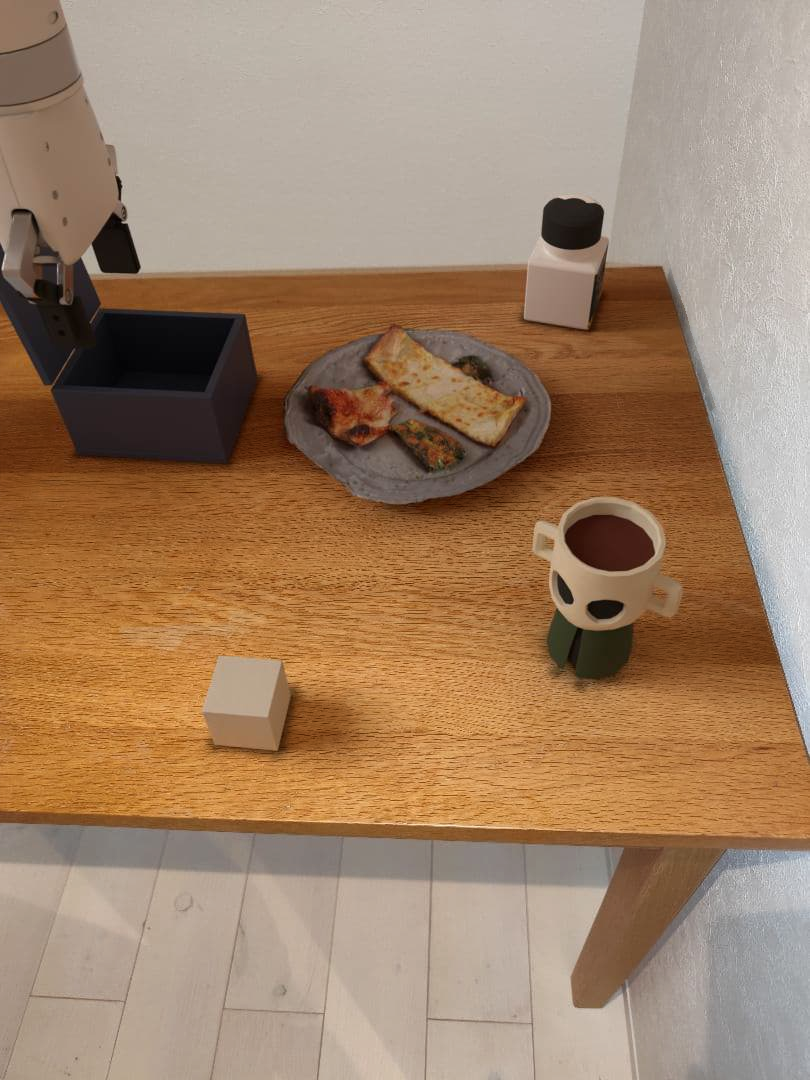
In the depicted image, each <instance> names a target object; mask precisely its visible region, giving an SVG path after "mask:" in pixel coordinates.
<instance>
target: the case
mask: <svg viewBox="0 0 810 1080" xmlns="http://www.w3.org/2000/svg"><path fill="white" fill-rule="evenodd" d="M90 324H91V327H92V330H93V332H94V335H95V338H96V340H97V343H96V345H95V347H94V348H93V349H74V350H73V351H72V353H71V355H70V356H69V358H68V360H67V361H66V363H65V365H64V366H63V368H62V370H61V371H60V373H59V375H58V376H57V378H56V380H55V381H54V383H53V385H52V386H51V388H50V393H51V395H52V397H53V400H54V402H55V404H56V407H57V410H58V411H59V414H60V416H61V418H62V421H63V423H64V426H65V428H66V431H67V433H68V435H69V438H70V440H71V442H72V445H73V448H74V450H75V453H76V455H78V456H90V457H91V456H92V457H109V458H126V459H127V458H128V459H142V460H160V461H163V460H164V461H175V462H176V461H177V462H178V461H179V462H191V463H192V462H193V463H195V462H196V463H212V464H213V463H214V464H228V462H229V460H230V456H231V455H232V451H233V448H234V445H235V443H236V441H237V438H238V434H239V432H240V430H241V426H242V424H243V421H244V419H245V416H246V414H247V413H246V412H247V410H248V407H249V405H250V402H251V399H252V397H253V393H254V391H255V388H256V386H257V383H258V379H259V378H258V374H257V373H258V371H257V366H256V362H255V356H254V351H253V347H252V342H251V335H250V332H249V331H250V330H249V326H248V321H247V316H246V313H231V312H230V313H228V312H205V311H183V310H182V311H179V310H156V309H129V308H108V307H105V308H104V307H99V308H98V310H97V312H96V313H95V315H94V317H93V318H92V320H91V321H90Z"/></svg>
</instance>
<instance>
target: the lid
mask: <svg viewBox="0 0 810 1080" xmlns="http://www.w3.org/2000/svg"><path fill="white" fill-rule="evenodd" d="M40 254H47V255H59V252H58V251H53V250H52V248H51V247H42V246H40ZM4 256H5V252H4V250H3V248H2V245H1V243H0V305H1V306H2V308H3V310H4V312H5V314H6V316H7V317H8V319H9V321H10V323H11V325H12V327H13V329H14V331H15V333H16V334H17V336H18V338H19V340H20V342H21V344H22V347H23V349H24V350H25V352H26V354H27V356H28V358H29V359H30V362H31V363H32V365H33V367H34V369H35V371H36V373H37V375H38V376H39V378H40V380H41V382H42V384H43V386H53V385H54V383H55V381H56V380H57V378H58V376H59V375H60V373H61V371H62V370H63V368H64V366H65V365H66V363H67V361H68V360H69V358H70V356H71V355H72V353H73V351H74V350H75V349H74V348H57V347H55V346H53V345H52V343H51V341H50V338H49V336H48V333H47V331H46V329H45V326H44V324H43V321H42V319H41V317H40V314H39V312H38V309H37V307H36V305H35V304H30V303H29V302H28V300H26V299H23V298H21V297H20V296H19V295H18V293H17V290H16V289H15V288H14V287H13V286H12V285H11V284H10V283H9V282H7V281H6V280H5V278H4V277H3V275H2V265H3V260H4ZM42 271H43V279H44V280H47V281H49V282H51V283H54V284H56V285H57V266H42ZM73 296H77V297H81V300H82V302H83V305H84V308H85V311H86V313H87V316H88V319H89V321H90V322H91V321H92V320H93V318H94V316H95V315H96V313H97V311H98V309H99V308H101V305H102V302H101V300H100V298H99V295H98V292H97V291H96V288H95V286H94V283H93V281H92V279H91V277H90V274H89V271H88V269H87V267H86V264H85V262H84V260H83V258H82V257H81V258H80V259H79V260H78V261H76V262H75V263H74V264H73Z"/></svg>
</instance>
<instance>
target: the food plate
mask: <svg viewBox="0 0 810 1080" xmlns="http://www.w3.org/2000/svg"><path fill="white" fill-rule="evenodd" d="M282 406H283V407H282V412H283V416H282V417H283V418H282V420H283V422H284V425H283V432H284V434H285V436H286V438H287V440H288V442H289V443H290V445H292V446H295V447H296V448H297V449H298V450H299V451H300V452H302V453H303V454H304V456H306V457H308V459H309V460H310V461H311V462H313V463H314V464H315V465H316V466H318V468H319V469H322V470H323V471H325V472H326V473H327V474H328V475H329V476H331V478H332V479H333V480H336V481H338V482H339V483H343V486H344V487H346V489H347V490H348V491H349V493H350V494H351V495H352V496H354V497H357V498H359V499H364V500H370V501H373V502H377V503H383V504H387V505H388V504H389V505H408V504H410V503H412V504H413V503H414V504H415V503H422V502H424V501H426V500H428V499H437V498H439V499H440V498H445V497H452V496H456V495H460V494H464V493H467V492H468V491H472V490H474V489H477V488H478V487H482V486H485V485H487V484H488V483H491V482H492V481H493V480H495V479H497V478H499V477H500V476H502V475H504V474H507V471H509V470H512V469H513V468H516V467H517V465H519V464H520V463H522V462H524V461H525V460H526V458H528V457H530V456H531V455H532V454H534V453H535V452H536V451H537V450H538V449H539V448H540V446H541V445H542V443H543V442H542V441H544V438H545V434H546V433H547V431H548V429H549V427H550V420H551V419H552V417H551V415H552V401H551V397H550V394H549V392H548V390H547V389H546V388H545V386H544V385H543V383H542V381H541V378H540V376H538V374H537V372H536V371H535V370H533V368H532V367H530V366H529V365H528V364H526V363H525V362H523V361H522V360H520V359H519V358H517V357H516V356H513V355H511V354H510V353H508V352H507V351H505V350H503V349H501V348H500V347H497V346H495V345H493V344H491V343H489V342H487V341H485V340H483V339H481V338H478V337H477V336H474V335H471V334H467V333H465V332H460V331H455V330H449V329H447V330H446V329H436V328H434V329H420V328H417V329H414V328H412V329H411V328H408V327H402V325H400V324H399V323H398V324H396V322H394V323H392V324H391V325H390V326H389V328H388V330H387V331H386V332H384V333H383V332H382V333H379V334H377V333H376V334H374V333H373V334H368V335H366V336H362V337H360V338H358V339H355V340H351V341H350V342H347V343H346V344H343V345H340V346H338V347H334V348H333V349H329V350H327V351H326V353H325V352H324V353H323V354H322V355H321V356H319V357H317V358H316V359H315V360H313V361H312V362H310V364H308V365H307V366H306V367H305V369H304V370H303V371H301V373H300V374H299V375H298V377H297V379H296V381H295V382H294V383H293V384H292V386H291V387H290V388H289V390H287V393H286V395H285V396H284V398H283V403H282Z"/></svg>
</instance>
